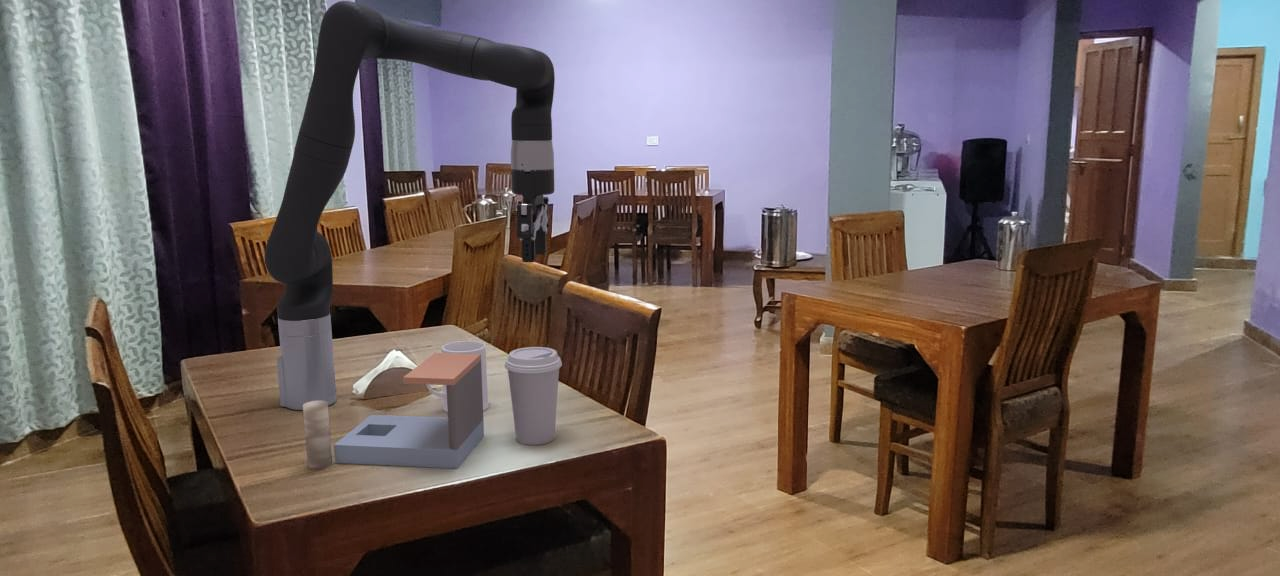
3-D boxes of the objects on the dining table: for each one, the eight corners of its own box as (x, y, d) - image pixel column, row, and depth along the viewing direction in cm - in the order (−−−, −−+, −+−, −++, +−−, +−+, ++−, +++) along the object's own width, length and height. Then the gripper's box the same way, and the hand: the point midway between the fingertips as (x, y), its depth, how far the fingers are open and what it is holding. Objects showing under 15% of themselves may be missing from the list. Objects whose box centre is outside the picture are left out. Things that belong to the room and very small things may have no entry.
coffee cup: (515, 452, 138) (512, 363, 135) (500, 432, 146) (497, 349, 143) (571, 443, 141) (569, 357, 138) (553, 424, 150) (551, 343, 147)
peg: (303, 468, 131) (298, 407, 129) (314, 459, 134) (309, 400, 133) (325, 469, 131) (320, 408, 129) (336, 460, 134) (331, 400, 132)
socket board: (335, 462, 133) (328, 374, 130) (372, 431, 147) (367, 350, 144) (457, 468, 131) (453, 379, 128) (484, 435, 145) (480, 354, 142)
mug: (431, 420, 152) (428, 356, 150) (421, 406, 159) (417, 345, 157) (494, 410, 157) (492, 348, 155) (481, 397, 165) (479, 338, 162)
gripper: (521, 164, 155) (523, 251, 158) (500, 168, 141) (503, 264, 144) (561, 164, 154) (563, 252, 157) (544, 169, 140) (546, 265, 143)
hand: (534, 258), depth 151 cm, fingers open, 8 cm apart
